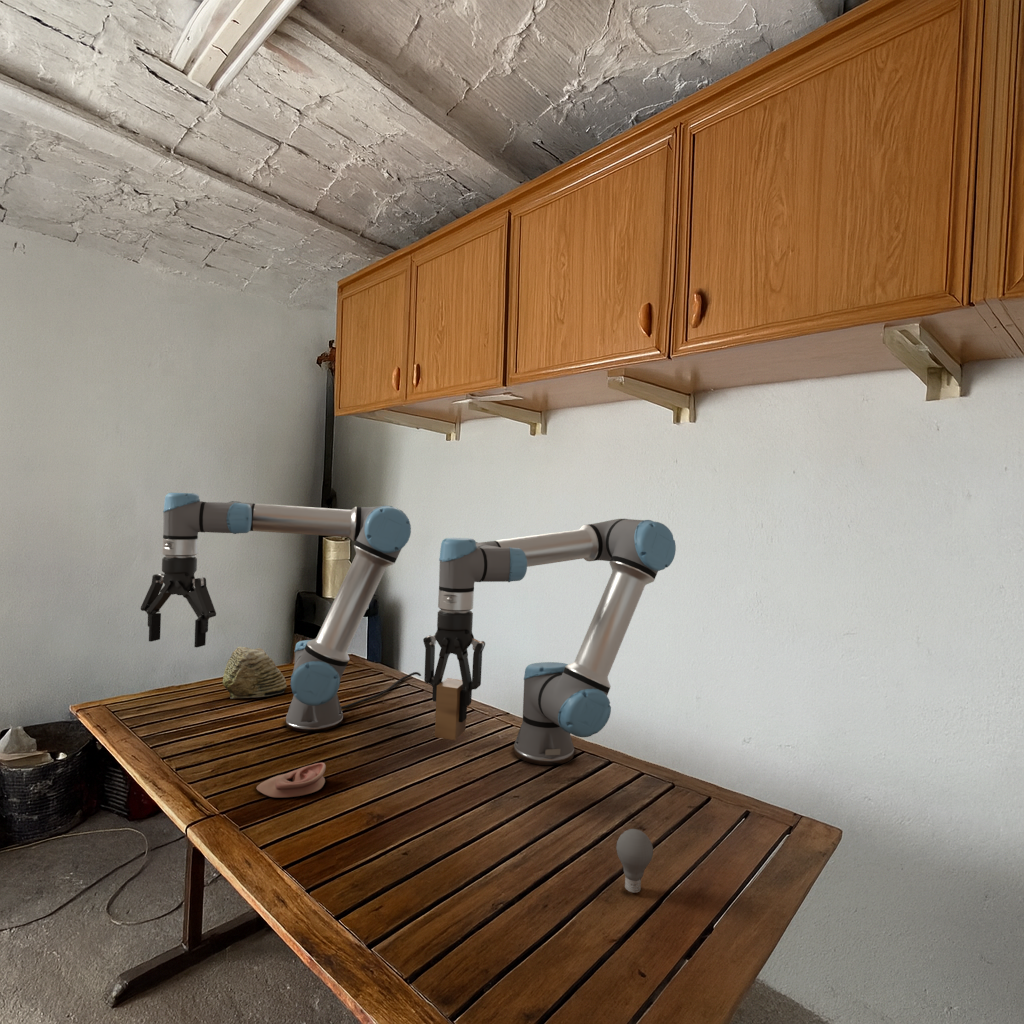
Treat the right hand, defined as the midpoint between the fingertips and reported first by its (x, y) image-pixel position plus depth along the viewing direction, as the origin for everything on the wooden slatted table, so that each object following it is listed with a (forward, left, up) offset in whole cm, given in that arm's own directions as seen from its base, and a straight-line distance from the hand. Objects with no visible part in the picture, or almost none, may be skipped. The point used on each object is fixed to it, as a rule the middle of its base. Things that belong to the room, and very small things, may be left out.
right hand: (450, 718), depth 136 cm
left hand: (+31, -64, +9) cm, 72 cm away
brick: (0, 0, -3) cm, 3 cm away
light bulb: (+1, +46, -17) cm, 49 cm away
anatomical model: (+21, -27, -17) cm, 38 cm away
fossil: (-4, -91, -17) cm, 93 cm away
